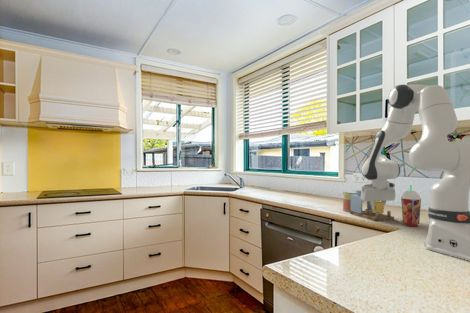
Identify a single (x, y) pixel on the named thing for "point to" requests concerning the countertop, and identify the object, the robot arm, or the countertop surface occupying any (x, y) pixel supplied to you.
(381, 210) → the yellow block
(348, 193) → the canned food
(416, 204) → the smoothie
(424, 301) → the countertop surface
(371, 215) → the peg board
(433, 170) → the robot arm
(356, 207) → the cover
